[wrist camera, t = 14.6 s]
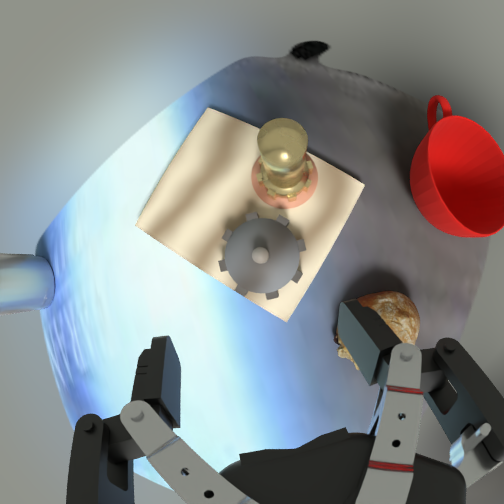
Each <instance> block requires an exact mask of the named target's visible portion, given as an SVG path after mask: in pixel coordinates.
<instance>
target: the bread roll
mask: <svg viewBox="0 0 504 504" xmlns="http://www.w3.org/2000/svg"><path fill="white" fill-rule="evenodd" d="M357 300H358V301H359V303H360V304H361V305H362V306H363V307H365V306H368V307H370V308H371V309H373V310H375V311H376V312H377V313H378V314H379V315H380V316H381V317H382V319H383V320H384V321H385V322H386V324H388V326H389V327H390V328H391V329H392V330H393V331H394V333H395V334H396V335H397V336H398V337H399V339H400V340H401V341H402V342H403V343H410V344H413V345H415V340H416V339H417V336H418V332H419V327H420V317H419V314H418V311H417V308H416V306H415V305H414V303H413V302H412V301H411V300H410V299H409V298H408V297H407V296H405V295H404V294H402V293H399V292H394V291H382V292H377V293H372V294H368V295H365V296H362V297H359V298H358V299H357ZM336 331H337V333H336V335H335V337H334V342H335V343H337V344H338V345H340V346H339V347H338V349H337V351H338V356H340V357H341V358H347V359H350V360H351V361H353V363H354V364H355V367H356V369H357V370H360V369H359V368H358V366H357V364H356V363H355V361H354V360H353V358H352V356H351V355H350V353H349V352H348V350H347V348H346V347H345V345H344V344H343V342H342V340H341V339H340V336H339V333H338V325H337V330H336Z"/></svg>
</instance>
